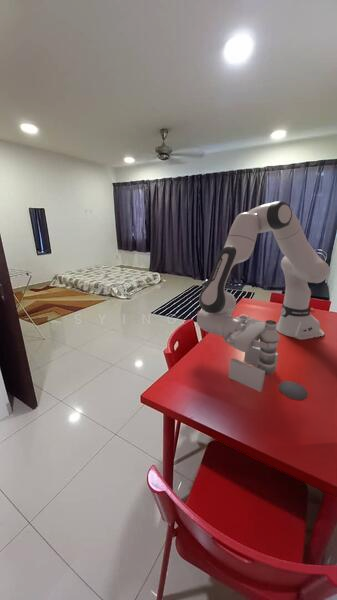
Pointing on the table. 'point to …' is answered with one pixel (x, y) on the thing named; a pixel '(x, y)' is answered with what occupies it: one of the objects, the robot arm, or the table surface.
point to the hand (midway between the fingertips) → (271, 341)
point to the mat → (293, 390)
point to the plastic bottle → (268, 355)
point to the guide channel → (248, 370)
